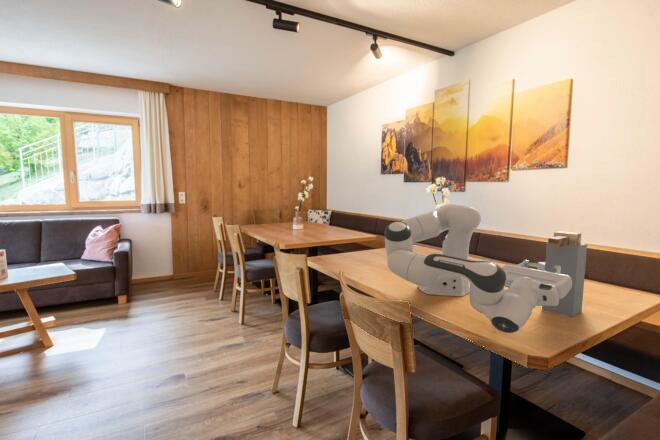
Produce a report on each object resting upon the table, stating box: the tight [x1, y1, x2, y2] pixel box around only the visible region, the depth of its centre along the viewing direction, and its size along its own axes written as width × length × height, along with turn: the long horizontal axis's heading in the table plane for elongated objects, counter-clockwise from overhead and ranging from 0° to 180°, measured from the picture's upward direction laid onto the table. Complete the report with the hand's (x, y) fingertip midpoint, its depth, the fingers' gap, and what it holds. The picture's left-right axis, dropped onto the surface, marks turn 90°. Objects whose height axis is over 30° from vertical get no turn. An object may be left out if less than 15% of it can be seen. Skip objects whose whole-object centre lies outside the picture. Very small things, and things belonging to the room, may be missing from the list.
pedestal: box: [541, 242, 588, 318], centre depth 127 cm, size 10×10×26 cm
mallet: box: [547, 230, 582, 248], centre depth 122 cm, size 17×7×4 cm, turn 128°
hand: (542, 264), depth 112 cm, fingers open, 8 cm apart
